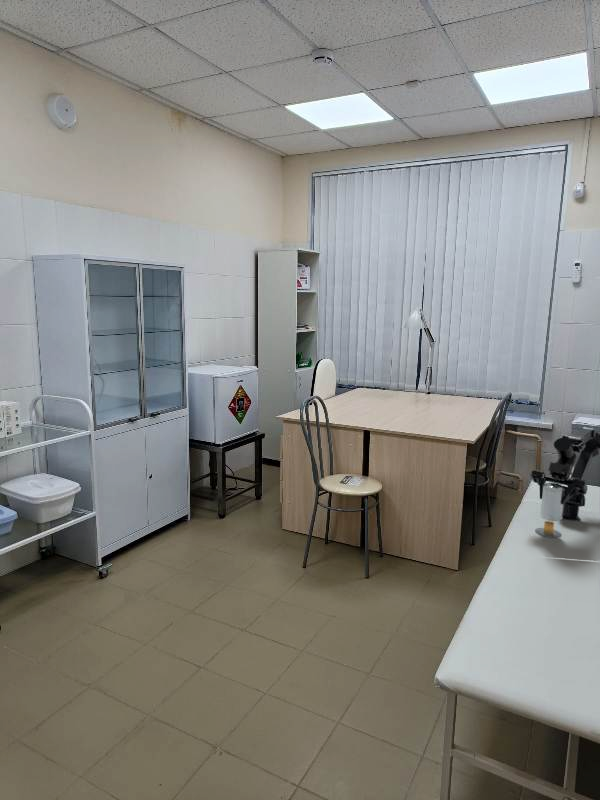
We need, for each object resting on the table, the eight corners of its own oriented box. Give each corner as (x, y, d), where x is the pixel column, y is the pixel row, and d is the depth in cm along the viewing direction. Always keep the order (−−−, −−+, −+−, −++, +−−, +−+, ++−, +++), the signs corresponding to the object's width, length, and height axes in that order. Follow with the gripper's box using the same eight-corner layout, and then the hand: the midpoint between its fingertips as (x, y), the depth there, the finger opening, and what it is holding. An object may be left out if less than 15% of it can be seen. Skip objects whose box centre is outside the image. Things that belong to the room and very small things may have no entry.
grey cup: (540, 512, 206) (543, 481, 204) (561, 515, 204) (564, 484, 201) (540, 519, 200) (543, 487, 198) (561, 522, 197) (564, 490, 195)
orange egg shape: (542, 530, 205) (543, 520, 205) (551, 531, 205) (552, 521, 204) (544, 534, 202) (545, 524, 201) (554, 534, 202) (555, 524, 201)
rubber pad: (532, 528, 209) (532, 526, 209) (557, 530, 207) (557, 528, 207) (538, 538, 200) (538, 537, 200) (564, 540, 199) (564, 538, 198)
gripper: (534, 448, 207) (520, 484, 201) (588, 459, 194) (574, 497, 188) (540, 464, 214) (527, 498, 208) (593, 475, 201) (580, 512, 195)
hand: (551, 501), depth 200 cm, fingers closed on grey cup, 7 cm apart
